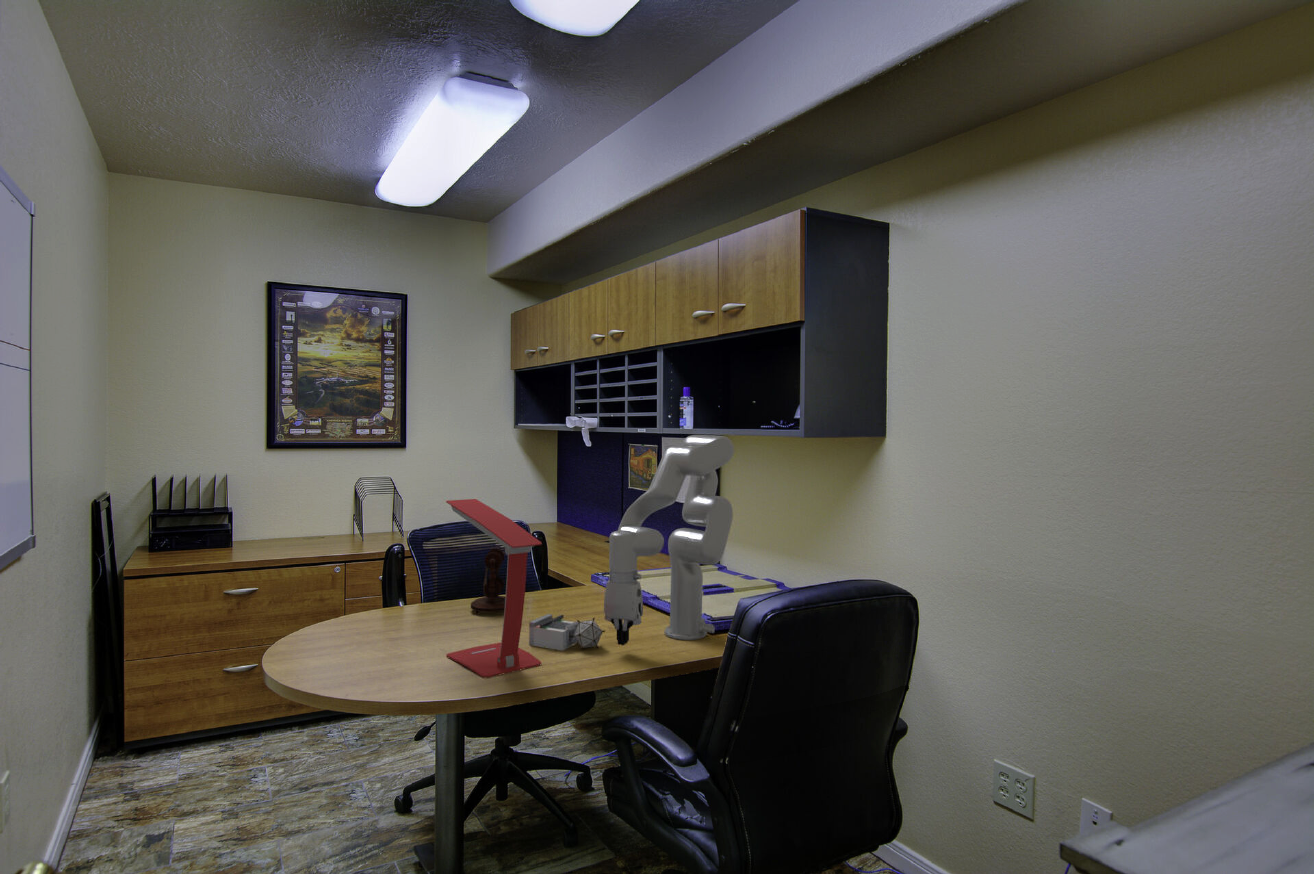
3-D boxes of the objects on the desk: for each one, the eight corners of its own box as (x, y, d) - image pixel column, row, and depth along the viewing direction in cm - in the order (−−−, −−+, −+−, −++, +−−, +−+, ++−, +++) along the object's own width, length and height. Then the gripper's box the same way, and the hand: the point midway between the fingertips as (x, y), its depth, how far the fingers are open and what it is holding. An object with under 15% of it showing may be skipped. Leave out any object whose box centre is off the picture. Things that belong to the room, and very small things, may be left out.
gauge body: (580, 641, 203) (580, 618, 203) (562, 650, 194) (563, 627, 194) (547, 635, 207) (547, 614, 207) (528, 644, 198) (529, 622, 198)
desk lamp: (487, 633, 208) (489, 498, 207) (557, 670, 179) (559, 512, 178) (428, 644, 197) (430, 501, 196) (492, 686, 167) (494, 517, 166)
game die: (588, 659, 199) (601, 625, 204) (601, 656, 192) (614, 622, 197) (561, 645, 196) (574, 612, 201) (573, 642, 189) (587, 608, 194)
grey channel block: (584, 636, 203) (584, 618, 203) (563, 648, 193) (563, 628, 193) (560, 632, 206) (561, 614, 206) (538, 644, 196) (539, 624, 196)
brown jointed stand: (474, 604, 240) (475, 546, 239) (518, 604, 241) (519, 546, 241) (467, 616, 225) (468, 554, 225) (514, 616, 227) (515, 554, 226)
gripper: (653, 576, 192) (653, 643, 193) (605, 571, 198) (604, 636, 199) (642, 582, 185) (641, 651, 186) (592, 576, 191) (591, 644, 192)
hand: (622, 643), depth 192 cm, fingers closed
